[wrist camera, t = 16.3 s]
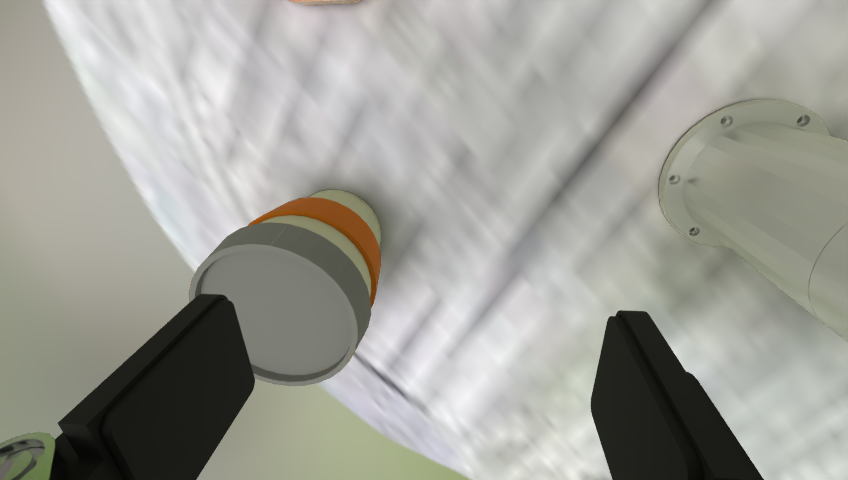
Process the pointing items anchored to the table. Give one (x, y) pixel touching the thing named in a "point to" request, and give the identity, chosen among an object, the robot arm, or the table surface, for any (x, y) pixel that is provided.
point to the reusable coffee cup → (299, 285)
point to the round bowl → (325, 2)
